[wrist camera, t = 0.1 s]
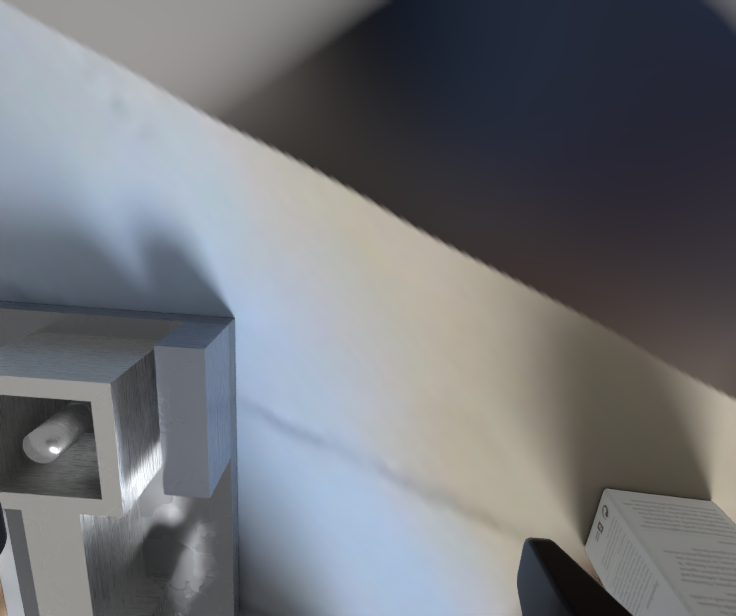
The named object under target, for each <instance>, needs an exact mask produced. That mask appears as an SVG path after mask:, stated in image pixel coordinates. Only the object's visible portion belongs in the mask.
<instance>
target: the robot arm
mask: <svg viewBox="0 0 736 616" xmlns="http://www.w3.org/2000/svg"><path fill="white" fill-rule="evenodd" d="M6 540H7V533H6V527H5V522H4V517H3V511H2V506H1V502H0V554H1V553H2V551H3V549H4V547H5V544H6ZM517 588H518V595H519V600H520V605H521V610H522V615H523V616H633V615H632V614H631V613H630V612H629V611H628V610H627V609H626V608H625V607H623V606H622V605H621V604H620V603H619V602H618V601H617V600H616V599H615V598H614V597H613V596H612V595H611V594H610V593H608V592H607V591H606V590H605V589H604V588H603V587H602V586H601V585H600V584H599V583H598V582H597V581H596V580H594V579H593V578H592V577H591V576H590V575H589V574H588V573H587V572H586V571H585V570H584V569H583V568H582V567H580V566H579V565H578V564H577V563H576V562H575V561H574V560H573V559H572V558H571V557H570V556H569V555H568V554H567V553H565V552H564V551H563V550H562V549H561V548H560V547H559V546H558V545H557V544H556V543H555V542H553V541H552V540H550V539H544V538H531V537H530V538H527V539H526V540H525V542H524V545H523V550H522V555H521V560H520V565H519V570H518V575H517Z"/></svg>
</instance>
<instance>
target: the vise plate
mask: <svg viewBox="0 0 736 616" xmlns="http://www.w3.org/2000/svg"><path fill="white" fill-rule="evenodd" d="M35 331H39V332H52V333H66V334H80V335H93V336H107V337H121V338H134V339H148V340H161V341H159V342H158V343H157V344H156V345H154V353H155V367H156V382H157V396H158V411H159V425H160V440H161V454H162V466H161V467H160V469H159V470H158V472H157V473H156V474H155V476H154V477H153V478H152V480H151V481H150V482H149V484H148V485H147V486H146V488H145V489H144V491H143V492H142V493H141V495H140V496H139V500H140V512H141V523H142V535H143V546H144V558H145V569H146V577H151V578H164V579H170V589H171V604H172V616H239V556H238V492H237V427H236V363H235V318H226V317H212V316H198V315H184V314H171V313H157V312H143V311H129V310H116V309H102V308H88V307H74V306H60V305H47V304H33V303H19V302H5V301H0V348H1V347H3V346H5V345H7V344H9V343H11V342H13V341H16V340H18V339H20V338H22V337H24V336H26V335H28V334H30V333H33V332H35ZM61 401H62V409H61V410H60V411H58V412H57V413H56V414H54V415H53V416H52V417H50V418H49V419H48V420H46V421H45V422H44V423H42V424H41V425H40V426H39V427H37V428H36V429H35V430H33V431H32V432H31V433H29V434H28V435H27V436H26V437H25V438H24V440H23V450H24V452H25V453H26V455H27V456H28V457H29V458H30V459H32V460H33V461H35V462H38V463H43V464H46V463H50V462H53V461H54V460H55V459H56V458H58V457H59V456H60V455H61V454H62V453H63V452H64V451H65V450H66V449H68V448H69V447H70V446H71V445H72V444H73V443H74V442H75V441H76V440H78V439H79V438H80V437H81V436H82V435H83V434H84V433H94V424H93V416H92V407H91V401H78V400H65V399H61ZM5 511H6V517H7V522H8V528H9V533H10V538H11V544H12V549H13V554H14V560H15V565H16V570H17V576H18V581H19V586H20V592H21V597H22V602H23V608H24V613H25V616H40V614H39V609H38V603H37V597H36V592H35V586H34V580H33V574H32V569H31V563H30V557H29V552H28V546H27V540H26V535H25V529H24V523H23V517H22V512H21V510H17V509H5Z"/></svg>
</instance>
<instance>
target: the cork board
mask: <svg viewBox="0 0 736 616" xmlns="http://www.w3.org/2000/svg"><path fill="white" fill-rule="evenodd" d="M0 616H7V611H6V606H5V601H4V596H3V591H2V587H1V582H0Z"/></svg>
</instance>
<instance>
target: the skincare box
mask: <svg viewBox="0 0 736 616" xmlns="http://www.w3.org/2000/svg"><path fill="white" fill-rule="evenodd" d="M585 552H586V554H587V556H588V558H589V560H590V562H591V563H592V565H593V567H594V569H595V571H596V573H597V574H598V576H599V578H600V580H601V582H602V584H603V585H604V587H605V589H606V591H607V592H608V593H610V594H611V595H612V596H613V597H614V598H615V599H616V600H617V601H618V602H619V603H620V604H621V605H622V606H623V607H625V608H626V609H627V610H628V611H629V612H630V613H631V614H632V615H633V616H736V524H735V523H734V522H733V521H732V520H731V519H730V518H729V517H728V516H727V515H726V514H725V513H724V512H723V511H722V510H721V509H720V508H719V507H718V506H717V505H716V504H715V503H714V502H712V501H705V500H696V499H687V498H679V497H671V496H663V495H654V494H646V493H638V492H630V491H622V490H613V489H605V490H604V491H603V494H602V497H601V500H600V503H599V506H598V509H597V513H596V516H595V519H594V522H593V525H592V528H591V531H590V534H589V537H588V540H587V543H586V546H585Z"/></svg>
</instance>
